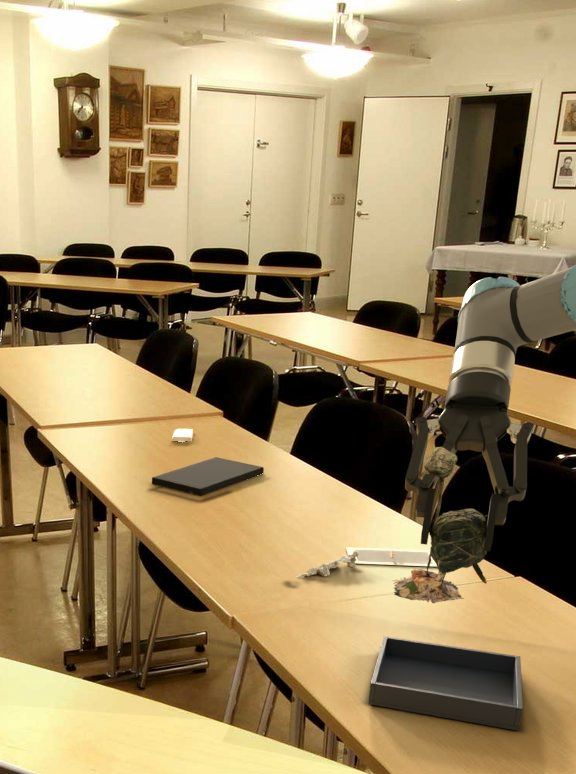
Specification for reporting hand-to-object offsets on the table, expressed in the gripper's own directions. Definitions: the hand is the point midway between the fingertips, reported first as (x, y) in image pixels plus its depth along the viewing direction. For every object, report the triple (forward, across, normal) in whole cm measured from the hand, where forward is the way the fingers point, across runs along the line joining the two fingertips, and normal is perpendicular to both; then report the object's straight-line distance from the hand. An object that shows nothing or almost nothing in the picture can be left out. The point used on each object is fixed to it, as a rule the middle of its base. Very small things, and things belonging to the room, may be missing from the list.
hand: (455, 542), depth 111 cm
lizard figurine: (-11, +20, -39) cm, 45 cm away
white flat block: (-65, +69, -93) cm, 133 cm away
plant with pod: (+4, +1, -9) cm, 9 cm away
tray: (+14, -1, -15) cm, 20 cm away
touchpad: (-19, +10, -48) cm, 52 cm away
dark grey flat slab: (-46, +54, -74) cm, 103 cm away
